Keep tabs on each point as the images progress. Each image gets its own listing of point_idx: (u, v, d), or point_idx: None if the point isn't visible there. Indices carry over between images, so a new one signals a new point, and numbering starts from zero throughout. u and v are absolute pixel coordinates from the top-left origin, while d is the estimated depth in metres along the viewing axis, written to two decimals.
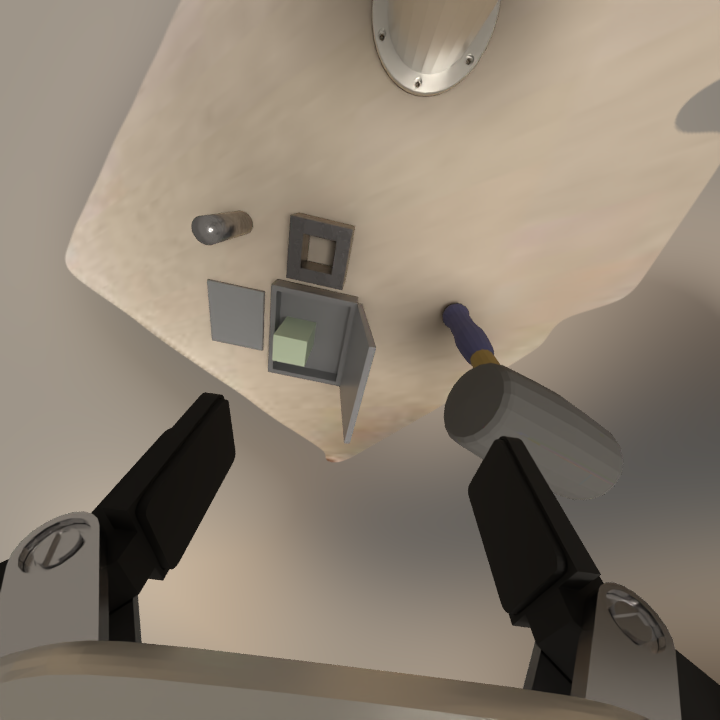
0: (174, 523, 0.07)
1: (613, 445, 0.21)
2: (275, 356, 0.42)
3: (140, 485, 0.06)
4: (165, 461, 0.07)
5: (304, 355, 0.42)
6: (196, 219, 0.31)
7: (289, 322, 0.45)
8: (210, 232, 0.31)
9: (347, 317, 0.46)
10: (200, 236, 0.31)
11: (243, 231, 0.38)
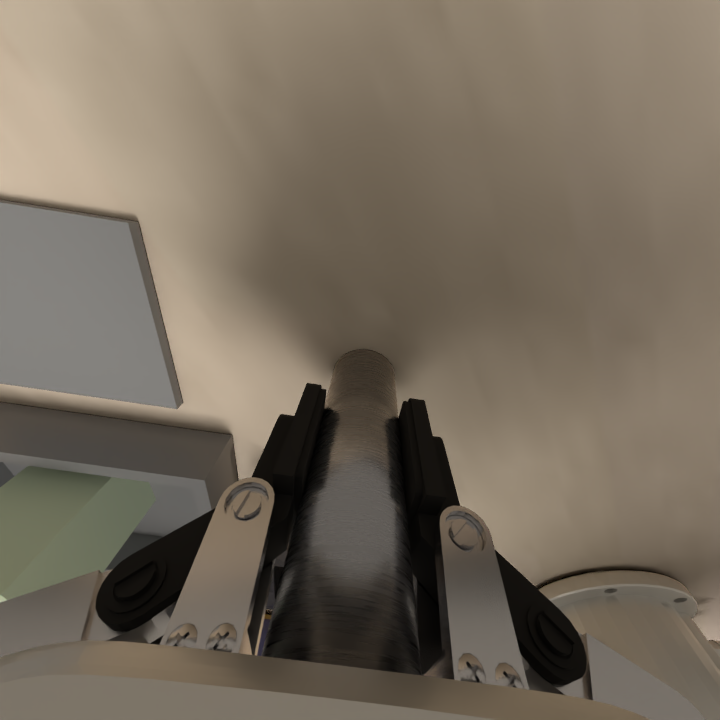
0: None
1: None
2: None
3: (293, 457, 0.07)
4: (302, 439, 0.08)
5: None
6: None
7: (113, 492, 0.15)
8: None
9: None
10: None
11: None
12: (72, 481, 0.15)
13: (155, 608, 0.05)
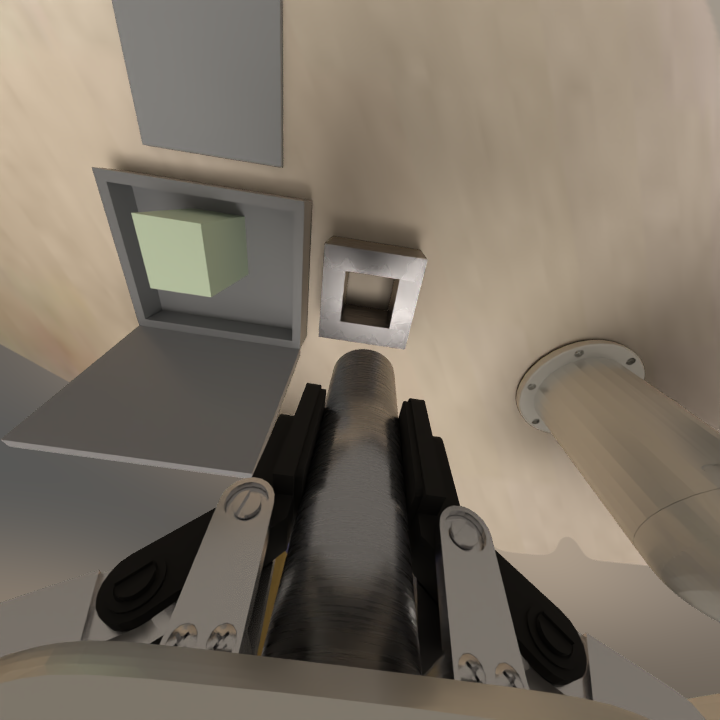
0: None
1: None
2: (145, 222, 0.18)
3: (293, 457, 0.07)
4: (302, 439, 0.08)
5: (177, 290, 0.21)
6: None
7: (235, 231, 0.23)
8: None
9: (271, 324, 0.29)
10: None
11: None
12: (211, 215, 0.22)
13: (155, 608, 0.05)
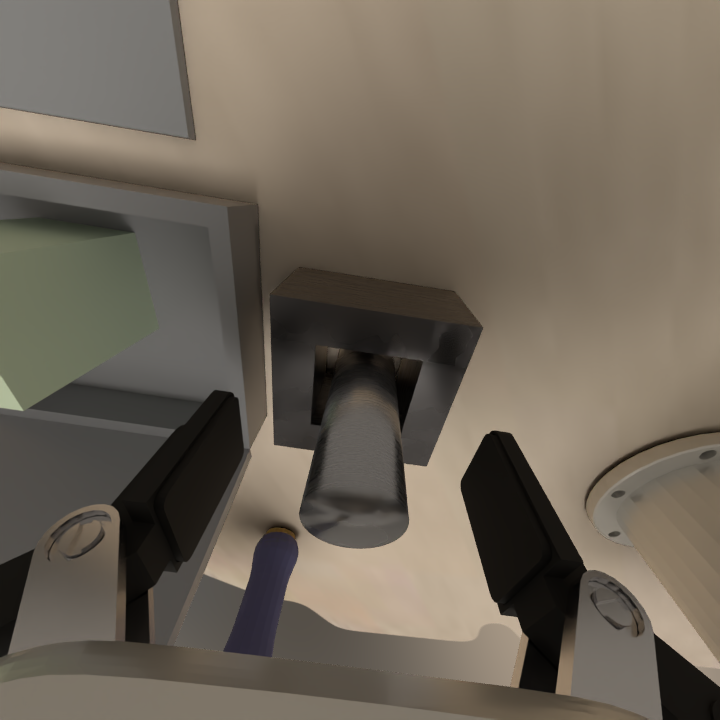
0: (188, 517, 0.07)
1: None
2: None
3: (157, 479, 0.06)
4: (180, 455, 0.07)
5: None
6: (395, 508, 0.07)
7: (104, 263, 0.12)
8: (349, 531, 0.08)
9: None
10: (330, 504, 0.07)
11: None
12: (49, 233, 0.11)
13: None
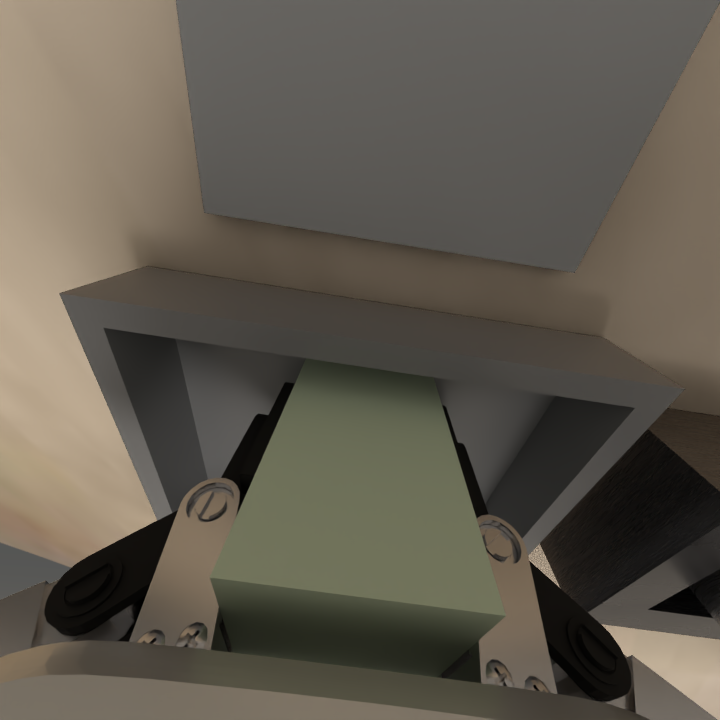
0: None
1: None
2: (264, 598, 0.04)
3: None
4: None
5: None
6: None
7: None
8: None
9: None
10: None
11: None
12: (388, 402, 0.08)
13: (107, 612, 0.05)
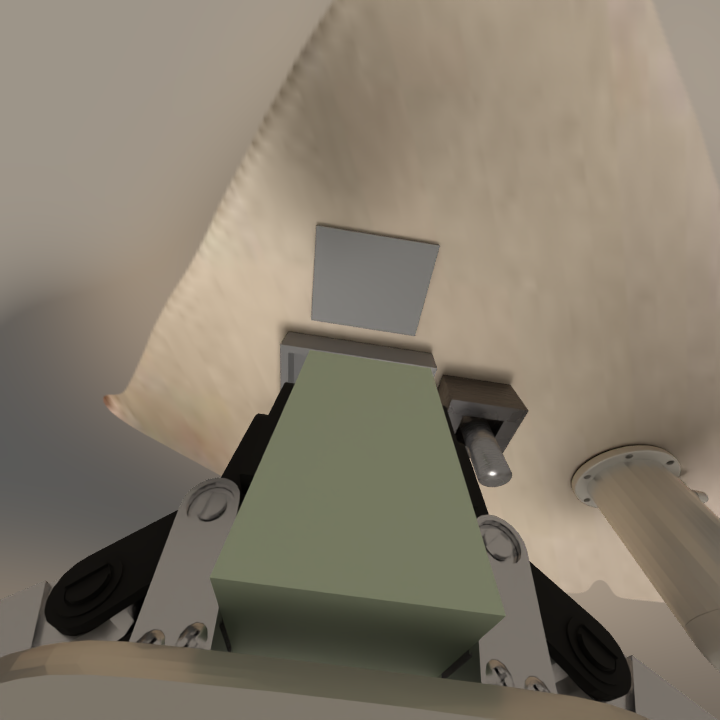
0: None
1: None
2: (264, 598, 0.04)
3: None
4: None
5: None
6: (509, 472, 0.25)
7: None
8: (492, 480, 0.26)
9: None
10: (490, 472, 0.25)
11: None
12: (388, 402, 0.08)
13: (107, 612, 0.05)
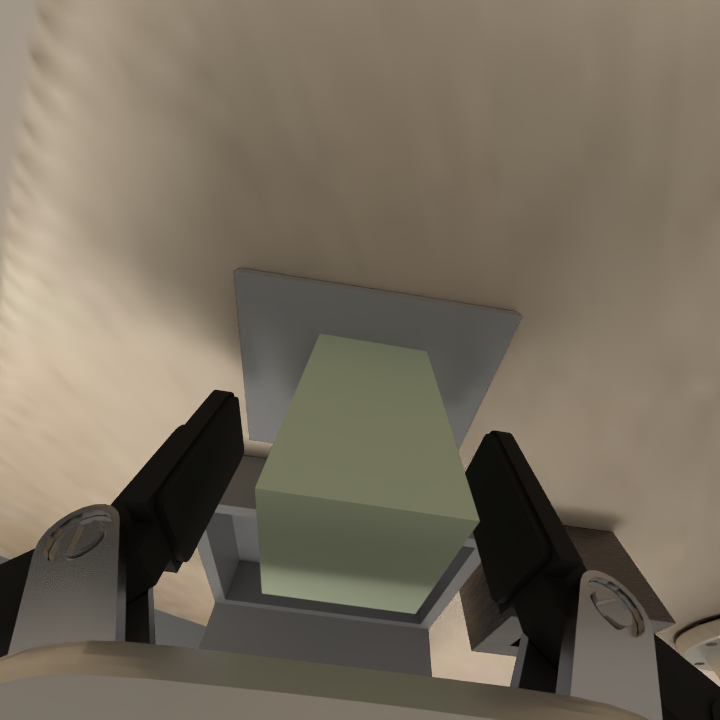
0: (188, 517, 0.07)
1: None
2: (295, 508, 0.06)
3: (157, 479, 0.06)
4: (181, 455, 0.07)
5: (333, 600, 0.08)
6: None
7: None
8: None
9: None
10: None
11: None
12: (390, 376, 0.09)
13: None
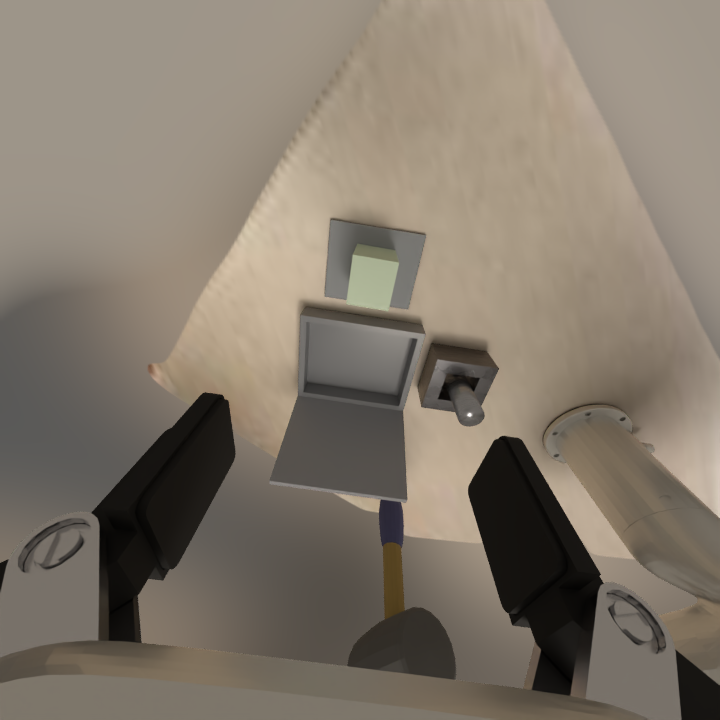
0: (174, 523, 0.07)
1: None
2: (360, 261, 0.27)
3: (140, 485, 0.06)
4: (166, 461, 0.07)
5: (365, 306, 0.29)
6: (482, 412, 0.32)
7: None
8: (469, 420, 0.33)
9: (380, 391, 0.43)
10: (467, 412, 0.32)
11: None
12: (381, 251, 0.30)
13: None
